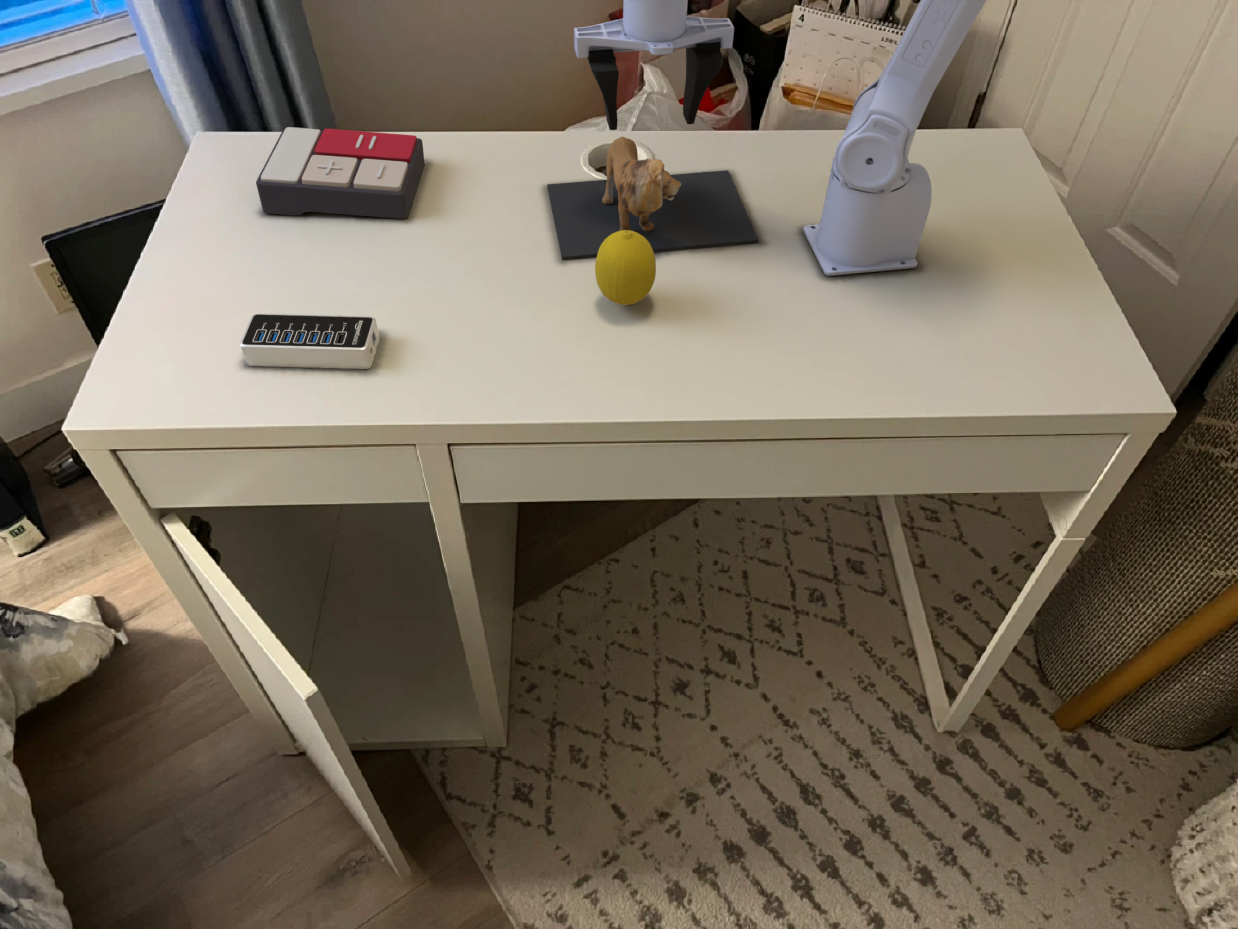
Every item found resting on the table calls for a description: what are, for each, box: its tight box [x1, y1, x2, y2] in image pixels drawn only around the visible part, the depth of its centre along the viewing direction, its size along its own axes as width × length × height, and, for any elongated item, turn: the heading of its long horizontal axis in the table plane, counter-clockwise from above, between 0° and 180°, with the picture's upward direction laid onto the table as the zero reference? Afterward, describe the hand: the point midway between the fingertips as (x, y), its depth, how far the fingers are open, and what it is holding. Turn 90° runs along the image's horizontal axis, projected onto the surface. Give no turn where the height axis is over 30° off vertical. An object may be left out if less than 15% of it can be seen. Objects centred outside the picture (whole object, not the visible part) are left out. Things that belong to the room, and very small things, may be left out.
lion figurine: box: [602, 136, 681, 231], centre depth 94 cm, size 15×5×9 cm, turn 22°
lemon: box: [594, 230, 657, 306], centre depth 86 cm, size 6×6×8 cm
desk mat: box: [546, 169, 760, 261], centre depth 98 cm, size 20×13×1 cm, turn 99°
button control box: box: [255, 126, 425, 220], centre depth 99 cm, size 11×4×15 cm
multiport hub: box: [239, 313, 381, 370], centre depth 83 cm, size 4×11×2 cm, turn 89°
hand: (650, 121), depth 92 cm, fingers open, 7 cm apart
